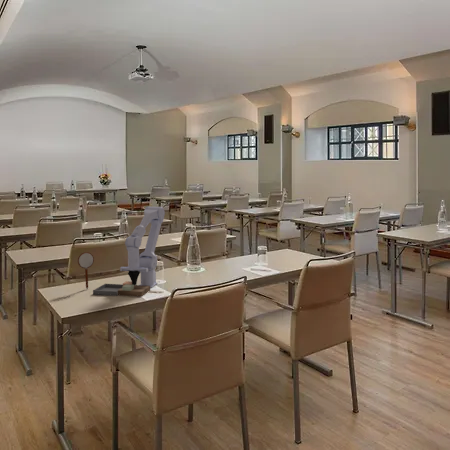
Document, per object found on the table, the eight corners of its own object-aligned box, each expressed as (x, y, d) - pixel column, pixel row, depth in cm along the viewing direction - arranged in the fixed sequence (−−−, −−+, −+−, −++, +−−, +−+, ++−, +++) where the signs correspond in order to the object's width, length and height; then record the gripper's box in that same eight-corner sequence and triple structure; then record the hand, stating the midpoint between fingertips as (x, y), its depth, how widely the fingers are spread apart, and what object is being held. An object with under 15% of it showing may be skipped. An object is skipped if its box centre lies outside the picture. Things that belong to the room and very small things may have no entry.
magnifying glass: (94, 287, 263) (92, 251, 260) (95, 288, 262) (94, 251, 259) (78, 290, 258) (76, 253, 255) (79, 290, 257) (78, 253, 254)
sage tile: (125, 288, 252) (125, 284, 252) (134, 288, 251) (133, 284, 251) (122, 290, 248) (122, 286, 247) (130, 290, 247) (130, 286, 246)
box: (105, 287, 263) (105, 283, 263) (127, 288, 260) (127, 284, 260) (93, 294, 249) (92, 290, 249) (116, 295, 247) (116, 291, 246)
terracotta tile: (126, 285, 258) (126, 281, 258) (134, 285, 257) (134, 281, 257) (123, 287, 254) (122, 283, 254) (131, 287, 253) (131, 283, 253)
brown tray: (127, 289, 259) (127, 284, 259) (150, 290, 257) (150, 285, 256) (117, 295, 248) (117, 290, 247) (141, 296, 245) (141, 291, 245)
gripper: (117, 260, 251) (118, 286, 252) (144, 261, 248) (144, 287, 250) (122, 257, 257) (123, 282, 259) (149, 258, 255) (149, 284, 256)
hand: (134, 284), depth 255 cm, fingers closed
